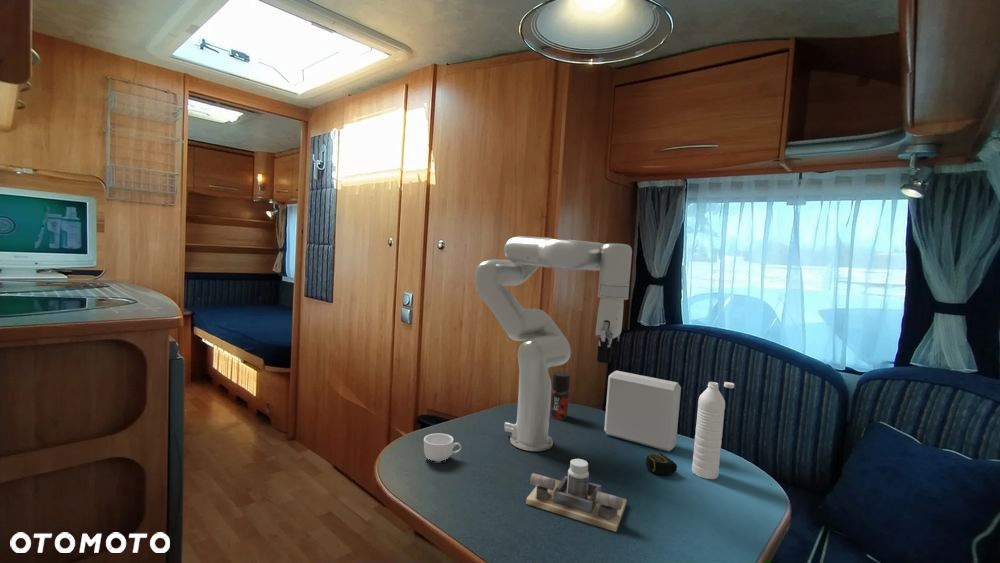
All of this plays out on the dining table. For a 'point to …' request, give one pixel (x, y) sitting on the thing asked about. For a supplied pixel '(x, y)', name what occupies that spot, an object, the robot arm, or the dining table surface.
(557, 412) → the deodorant
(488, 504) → the dining table surface
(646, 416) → the bevelled white case
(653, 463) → the tape measure
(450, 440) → the teacup
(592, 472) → the dining table surface
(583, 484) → the pill bottle
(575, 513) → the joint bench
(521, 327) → the robot arm
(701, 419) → the water bottle
